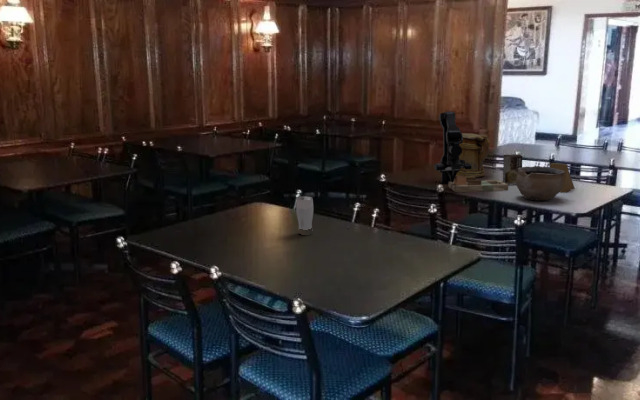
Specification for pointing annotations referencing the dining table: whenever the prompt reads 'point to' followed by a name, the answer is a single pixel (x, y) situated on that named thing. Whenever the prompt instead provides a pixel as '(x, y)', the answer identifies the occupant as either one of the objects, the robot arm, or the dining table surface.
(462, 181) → the block
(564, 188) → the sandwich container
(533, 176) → the ceramic bowl
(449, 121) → the robot arm
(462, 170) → the tankard
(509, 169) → the coffee box
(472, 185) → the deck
